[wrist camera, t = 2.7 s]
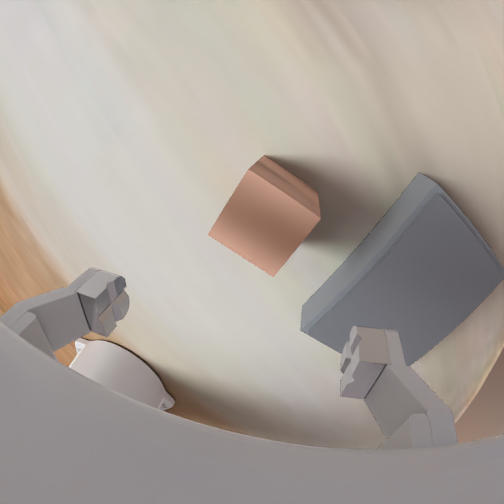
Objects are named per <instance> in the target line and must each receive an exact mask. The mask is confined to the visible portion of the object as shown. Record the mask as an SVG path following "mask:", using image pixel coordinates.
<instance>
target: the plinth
mask: <svg viewBox="0 0 504 504" xmlns="http://www.w3.org/2000/svg"><path fill="white" fill-rule="evenodd" d="M503 278H504V268H503V266H502V265H501V263H500V262H499V260H498V259H497V257H496V256H495V254H494V253H493V251H492V250H491V249H490V247H489V246H488V244H487V243H486V242H485V240H484V239H483V238H482V236H481V235H480V234H479V232H478V231H477V230H476V228H475V227H474V226H473V224H472V223H471V222H470V221H469V219H468V218H467V217H466V216H465V215H464V213H463V212H462V211H461V210H460V209H459V207H458V206H457V205H456V204H455V203H454V202H453V200H452V199H451V198H450V197H449V196H448V195H447V194H446V193H445V192H444V190H443V189H442V188H441V187H440V186H439V185H438V184H437V183H436V182H435V181H433V180H431V179H430V178H428V177H426V176H425V175H423V174H421V173H420V172H419V173H418V174H417V176H416V177H415V178H414V180H413V181H412V182H411V183H410V185H409V186H408V187H407V188H406V190H405V191H404V192H403V194H402V195H401V196H400V197H399V199H398V200H397V201H396V202H395V203H394V205H393V206H392V207H391V208H390V210H389V211H388V212H387V213H386V214H385V216H384V217H383V218H382V219H381V220H380V222H379V223H378V224H377V225H376V226H375V227H374V229H373V230H372V231H371V232H370V233H369V234H368V236H367V237H366V238H365V239H364V240H363V241H362V243H361V244H360V245H359V246H358V247H357V248H356V249H355V250H354V252H353V253H352V254H351V255H350V256H349V257H348V258H347V259H346V260H345V262H344V263H343V264H342V265H341V266H340V267H339V268H338V269H337V270H336V271H335V272H334V274H333V275H332V276H331V277H330V278H329V279H328V280H327V281H326V282H325V283H324V284H323V285H322V286H321V287H320V288H319V289H318V290H317V292H316V293H315V294H314V295H313V296H312V297H311V298H310V299H309V300H308V301H307V302H306V303H305V304H304V305H303V306H302V315H301V328H300V331H302V332H304V333H306V334H307V335H309V336H311V337H313V338H314V339H316V340H318V341H320V342H321V343H323V344H325V345H327V346H328V347H330V348H332V349H334V350H335V351H337V352H339V353H341V354H342V352H343V349H344V347H345V344H346V343H347V342H349V341H350V332H351V330H352V328H353V326H354V325H357V326H364V327H372V328H380V329H392V330H397V331H398V334H399V338H400V342H401V346H402V350H403V354H404V358H405V363H406V366H410V365H411V364H413V363H414V362H415V361H417V360H418V359H419V358H421V357H422V356H423V355H424V354H426V353H427V352H428V351H429V350H431V349H432V348H433V347H434V346H435V345H437V344H438V343H439V342H440V341H441V340H443V339H444V338H445V337H446V336H447V335H448V334H449V333H451V332H452V331H453V330H454V329H455V328H456V327H457V326H458V325H459V324H460V323H461V322H462V321H464V320H465V319H466V318H467V317H468V316H469V315H470V314H471V313H472V312H473V311H474V310H475V309H476V308H477V307H478V306H479V305H480V304H481V303H482V302H483V301H484V300H485V298H486V297H487V296H488V295H489V294H490V293H491V292H492V291H493V290H494V289H495V288H496V286H497V285H498V284H499V283H500V282H501V281H502V280H503Z"/></svg>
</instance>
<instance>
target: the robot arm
mask: <svg viewBox="0 0 504 504" xmlns="http://www.w3.org/2000/svg"><path fill="white" fill-rule="evenodd" d="M125 288H126V282H125V278H123V277H122V276H120V275H116V274H113V273H110V272H107V271H103V270H100V269H96V268H89V269H88V270H87V271H85V272H84V273H83V274H82V275H81V276H79V277H78V278H77V279H76V280H75V281H74V282H72V283H71V284H70V285H69V286H68V287H67V288H64V287H63V288H60V289H56V290H53V291H50V292H47V293H44V294H41V295H38V296H35V297H32V298H29V299H26V300H23V301H20V302H17V303H16V304H15V305H14V306H12V307H11V308H10V309H9V310H8V311H7V312H6V313H5V314H4V315H3V316H2V317H0V504H504V434H501V435H498V436H493V437H489V438H485V439H480V440H475V441H470V442H464V443H458V440H457V435H456V430H455V424H454V419H453V415H452V411H451V410H450V409H449V408H448V407H447V406H446V405H445V403H444V402H443V401H442V400H441V399H440V398H439V397H438V396H437V395H436V394H435V393H434V391H433V390H432V389H431V388H430V387H429V386H428V385H427V384H426V383H425V382H424V381H423V380H422V379H421V377H420V376H419V375H418V374H417V373H416V372H415V371H414V370H413V369H412V368H411V367H410V366H406V363H405V358H404V354H403V350H402V346H401V342H400V338H399V334H398V331H397V330H392V329H380V328H372V327H364V326H357V325H354V326H353V328H352V330H351V332H350V341H349V342H347V343H346V344H345V347H344V349H343V352H342V356H341V363H340V370H341V371H342V373H343V376H342V378H341V380H340V396H342V397H350V398H358V399H364V401H365V403H366V405H367V406H368V408H369V410H370V411H371V413H372V415H373V416H374V418H375V420H376V421H377V423H378V425H379V426H380V428H381V430H382V431H383V433H384V435H385V437H386V438H387V440H386V441H385V442H384V443H383V444H382V445H381V446H379V447H378V448H377V449H376V450H365V449H341V448H328V447H317V446H308V445H300V444H293V443H286V442H280V441H274V440H268V439H263V438H258V437H253V436H248V435H244V434H239V433H235V432H231V431H227V430H223V429H219V428H216V427H212V426H208V425H205V424H201V423H198V422H195V421H192V420H188V419H185V418H182V417H179V416H176V415H173V414H171V413H168V412H165V411H164V410H166V409H169V408H171V407H173V405H174V403H175V401H174V399H173V398H172V397H171V396H170V395H169V394H168V393H167V392H166V391H165V389H164V387H163V384H162V382H161V381H160V379H159V378H158V376H157V375H156V374H155V373H154V372H153V371H152V370H151V369H150V368H149V367H148V366H147V365H146V364H145V363H144V362H143V361H141V360H140V359H139V358H137V357H136V356H135V355H133V354H132V353H130V352H129V351H127V350H125V349H123V348H121V347H119V346H117V345H115V344H113V343H110V342H106V341H101V340H96V341H88V340H85V339H82V338H80V337H82V336H84V335H86V334H88V333H90V331H92V332H95V333H97V334H100V335H102V336H105V337H108V336H109V335H110V334H111V332H112V331H113V330H114V329H115V328H116V326H117V324H116V321H119V320H121V319H123V318H124V317H125V315H126V314H127V312H128V309H129V296H128V294H127V293H126V292H125V290H124V289H125ZM76 339H77V340H76ZM75 340H76V342H75V346H76V351H77V356H76V357H75V359H74V360H73V361H72V363H71V364H70V366H69V367H67V366H66V365H64V364H62V363H60V362H59V361H58V359H57V358H56V356H55V354H54V351H56V350H58V349H60V348H62V347H63V346H65V345H67V344H69V343H71V342H73V341H75Z"/></svg>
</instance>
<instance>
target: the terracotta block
mask: <svg viewBox="0 0 504 504" xmlns="http://www.w3.org/2000/svg"><path fill="white" fill-rule="evenodd" d="M320 219H321V213H320V205H319V196H318V192H317V191H316V190H314V189H313V188H312V187H310V186H309V185H307V184H306V183H305V182H303V181H302V180H300V179H299V178H297V177H296V176H294V175H293V174H292V173H290V172H289V171H287V170H286V169H284V168H283V167H281V166H280V165H278V164H277V163H275V162H274V161H272V160H271V159H269V158H267V157H266V156H263V157H261V158H260V159H259V160H258V161H257V162H256V163H255V164H254V165H253V166H251V167H250V168H249V169H248V171H247V172H246V174H245V175H244V177H243V179H242V180H241V182H240V183H239V185H238V186H237V188H236V190H235V191H234V193H233V194H232V196H231V198H230V199H229V201H228V202H227V204H226V206H225V207H224V209H223V211H222V212H221V214H220V215H219V217H218V219H217V220H216V222H215V224H214V225H213V227H212V229H211V230H210V232H209V234H208V235H209V236H210V237H212V238H214V239H215V240H217V241H218V242H220V243H221V244H223V245H224V246H226V247H227V248H229V249H231V250H232V251H234V252H235V253H237V254H238V255H240V256H241V257H243V258H245V259H246V260H248V261H249V262H251V263H252V264H254V265H255V266H257V267H259V268H260V269H262V270H263V271H265V272H266V273H268V274H269V275H271V276H273V277H274V276H275V274H276V273H277V272H278V271H279V270H280V268H281V267H282V266H283V265H284V264H285V262H286V261H287V260H288V259H289V257H290V256H291V255H292V254H293V253H294V251H295V250H296V249H297V248H298V246H299V245H300V244H301V243H302V242H303V240H304V239H305V238H306V237H307V235H308V234H309V233H310V232H311V230H312V229H313V228H314V227H315V225H316V224H317V223H318V222H319V220H320Z"/></svg>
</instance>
